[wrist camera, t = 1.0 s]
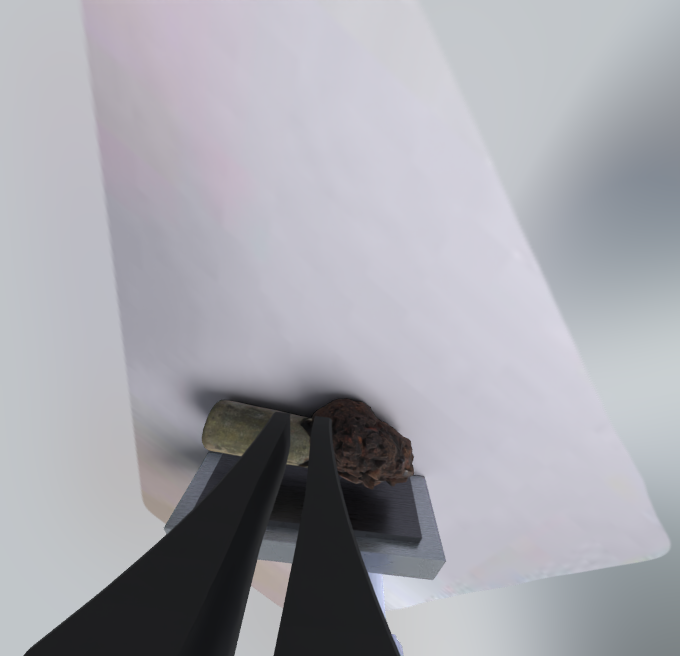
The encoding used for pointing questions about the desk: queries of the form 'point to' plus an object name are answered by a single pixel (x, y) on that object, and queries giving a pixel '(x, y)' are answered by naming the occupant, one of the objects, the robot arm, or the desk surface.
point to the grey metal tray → (364, 512)
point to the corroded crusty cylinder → (347, 434)
